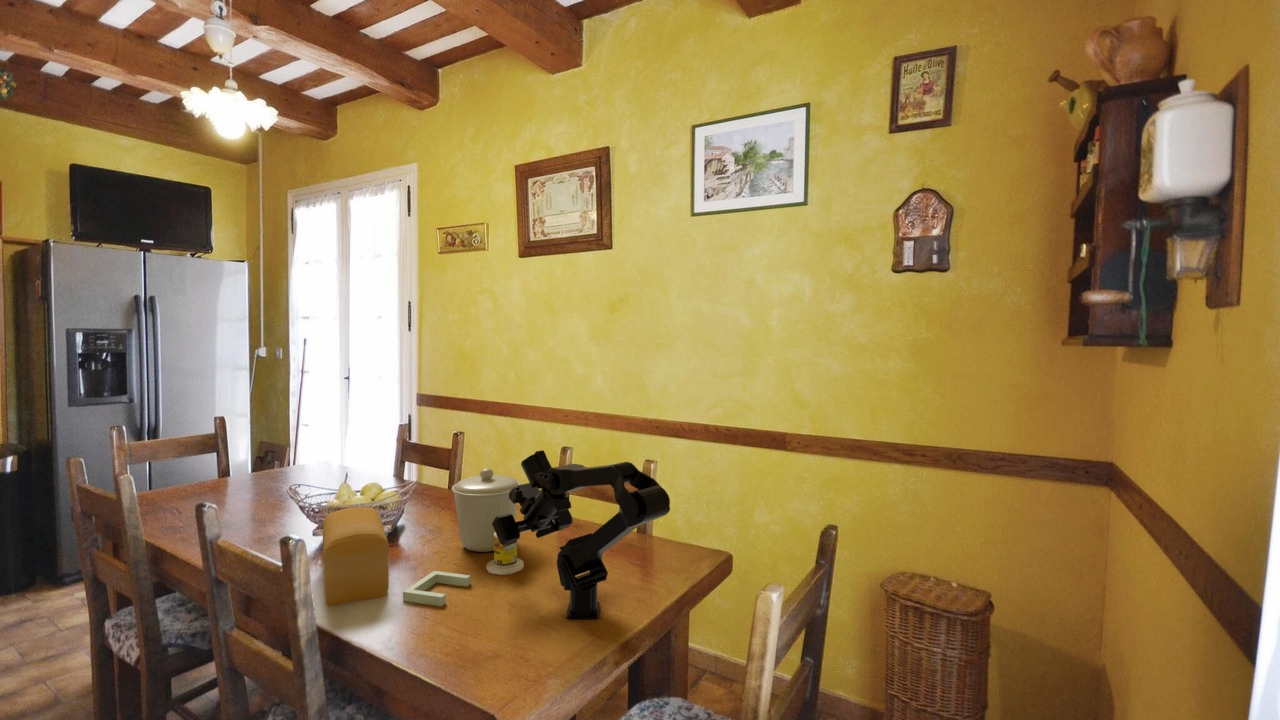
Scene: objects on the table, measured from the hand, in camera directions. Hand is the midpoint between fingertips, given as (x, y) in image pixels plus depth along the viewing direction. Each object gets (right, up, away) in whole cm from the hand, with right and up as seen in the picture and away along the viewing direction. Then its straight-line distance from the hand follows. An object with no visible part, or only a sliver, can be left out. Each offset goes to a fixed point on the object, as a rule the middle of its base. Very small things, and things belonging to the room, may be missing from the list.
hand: (520, 540), depth 142 cm
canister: (-13, -8, +21) cm, 25 cm away
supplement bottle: (-5, -8, +6) cm, 11 cm away
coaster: (-5, -8, +6) cm, 11 cm away
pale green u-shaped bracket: (-17, -9, -8) cm, 21 cm away
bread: (-38, -9, -2) cm, 39 cm away
